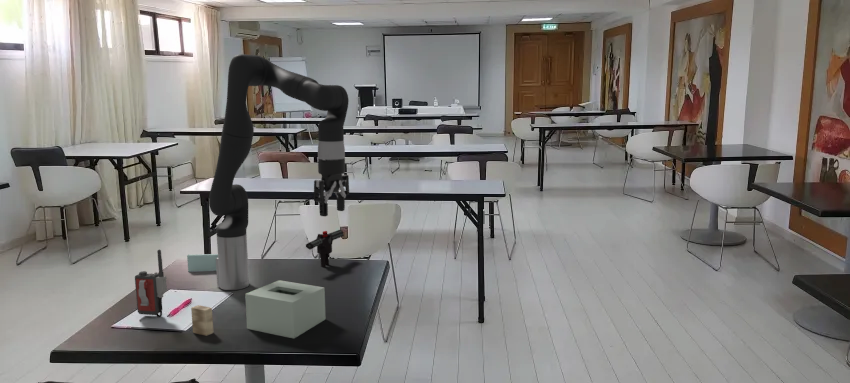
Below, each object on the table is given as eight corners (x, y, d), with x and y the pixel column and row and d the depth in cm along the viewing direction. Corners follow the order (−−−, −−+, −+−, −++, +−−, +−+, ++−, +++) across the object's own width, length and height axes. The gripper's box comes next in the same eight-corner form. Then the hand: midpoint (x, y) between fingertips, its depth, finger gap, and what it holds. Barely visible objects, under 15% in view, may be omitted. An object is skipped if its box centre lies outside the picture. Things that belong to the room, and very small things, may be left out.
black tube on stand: (347, 266, 234) (346, 226, 232) (316, 280, 217) (315, 237, 214) (335, 264, 236) (333, 225, 234) (304, 278, 219) (302, 236, 217)
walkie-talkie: (170, 315, 183) (165, 248, 180) (161, 321, 179) (156, 252, 176) (143, 314, 185) (137, 247, 182) (133, 319, 180) (127, 251, 177)
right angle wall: (231, 266, 236) (230, 246, 234) (223, 275, 224) (221, 254, 223) (198, 266, 235) (197, 247, 234) (188, 276, 223) (187, 255, 222)
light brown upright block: (192, 332, 170) (191, 307, 169) (199, 329, 172) (198, 305, 171) (206, 335, 168) (205, 310, 167) (213, 332, 170) (211, 307, 169)
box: (247, 329, 172) (245, 293, 171) (280, 313, 185) (279, 280, 183) (294, 339, 165) (292, 302, 164) (325, 321, 177) (324, 287, 176)
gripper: (334, 153, 186) (335, 208, 189) (305, 158, 173) (306, 216, 176) (356, 155, 183) (356, 210, 186) (328, 160, 170) (329, 219, 173)
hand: (332, 213), depth 181 cm, fingers open, 8 cm apart
